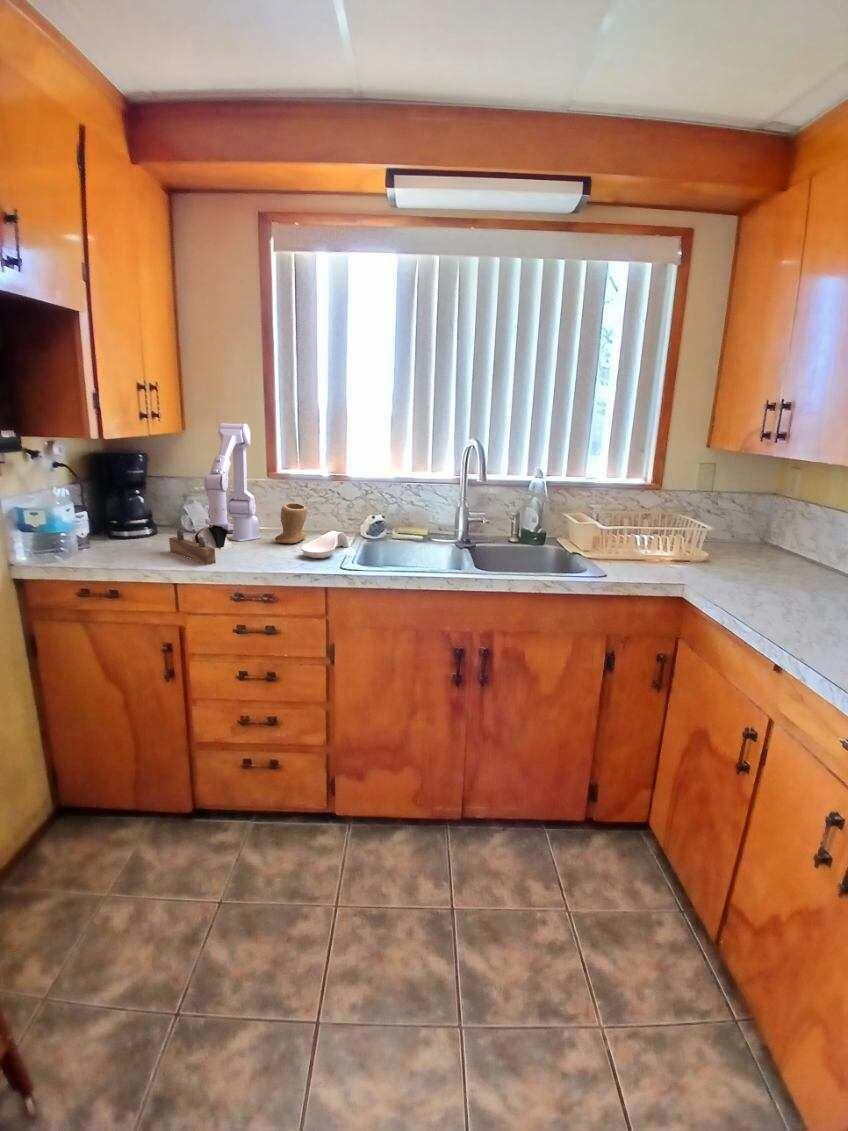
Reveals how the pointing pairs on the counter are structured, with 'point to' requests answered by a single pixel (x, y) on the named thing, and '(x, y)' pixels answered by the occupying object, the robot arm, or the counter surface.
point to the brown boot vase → (292, 523)
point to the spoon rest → (324, 545)
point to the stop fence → (192, 549)
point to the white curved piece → (210, 540)
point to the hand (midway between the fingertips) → (220, 547)
